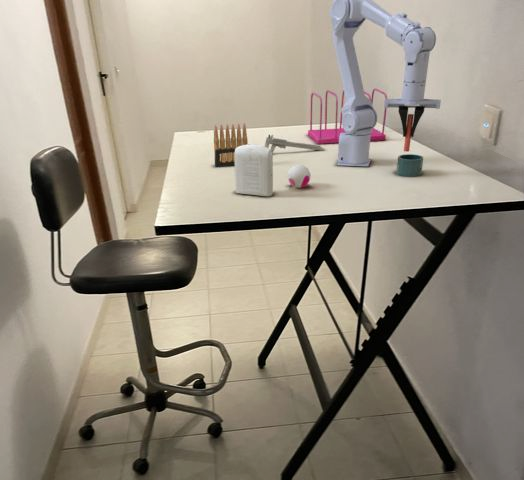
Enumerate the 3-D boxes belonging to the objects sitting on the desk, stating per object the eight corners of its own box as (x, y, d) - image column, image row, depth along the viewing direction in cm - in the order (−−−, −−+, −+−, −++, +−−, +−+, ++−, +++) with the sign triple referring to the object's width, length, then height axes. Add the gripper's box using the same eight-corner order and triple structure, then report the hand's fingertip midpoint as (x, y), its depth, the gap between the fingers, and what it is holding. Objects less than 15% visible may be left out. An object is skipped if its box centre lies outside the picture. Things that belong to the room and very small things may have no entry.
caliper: (265, 154, 176) (265, 134, 172) (265, 154, 177) (264, 134, 173) (324, 150, 179) (324, 130, 176) (323, 149, 180) (323, 130, 177)
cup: (395, 175, 150) (397, 159, 148) (396, 169, 156) (398, 153, 154) (421, 177, 149) (423, 160, 146) (421, 170, 154) (423, 154, 152)
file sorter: (385, 140, 189) (390, 92, 180) (317, 144, 186) (319, 95, 178) (371, 131, 203) (374, 86, 195) (307, 134, 201) (308, 89, 192)
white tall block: (275, 193, 139) (275, 144, 133) (269, 197, 136) (268, 147, 129) (239, 189, 143) (237, 141, 136) (233, 194, 139) (230, 145, 133)
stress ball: (301, 203, 142) (315, 184, 138) (278, 184, 141) (291, 164, 137) (309, 194, 148) (323, 175, 143) (287, 176, 147) (300, 156, 143)
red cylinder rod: (403, 151, 147) (407, 114, 142) (403, 150, 149) (408, 113, 143) (409, 151, 147) (413, 114, 142) (409, 150, 148) (413, 114, 143)
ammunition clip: (248, 163, 167) (246, 122, 160) (249, 164, 165) (247, 123, 159) (214, 165, 165) (211, 124, 159) (215, 167, 164) (212, 125, 157)
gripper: (385, 83, 137) (380, 138, 144) (443, 83, 133) (435, 140, 141) (387, 80, 142) (382, 133, 150) (443, 80, 139) (435, 134, 147)
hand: (408, 136), depth 146 cm, fingers closed on red cylinder rod, 1 cm apart
